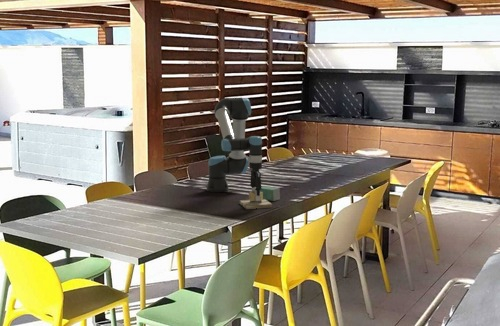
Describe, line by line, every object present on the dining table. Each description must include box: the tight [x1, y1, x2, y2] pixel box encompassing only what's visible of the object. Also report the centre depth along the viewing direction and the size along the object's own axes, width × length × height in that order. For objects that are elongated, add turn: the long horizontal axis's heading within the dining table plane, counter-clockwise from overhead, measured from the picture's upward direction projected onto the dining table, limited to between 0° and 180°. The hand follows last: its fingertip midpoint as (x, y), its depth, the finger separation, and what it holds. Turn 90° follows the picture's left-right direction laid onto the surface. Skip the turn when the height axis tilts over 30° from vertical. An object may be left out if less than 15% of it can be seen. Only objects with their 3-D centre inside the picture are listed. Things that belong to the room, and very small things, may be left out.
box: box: [260, 185, 281, 202], centre depth 381 cm, size 7×14×8 cm, turn 52°
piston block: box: [239, 190, 273, 210], centre depth 361 cm, size 16×16×9 cm
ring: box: [248, 190, 263, 201], centre depth 361 cm, size 8×8×4 cm
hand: (255, 199), depth 361 cm, fingers closed on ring, 8 cm apart
